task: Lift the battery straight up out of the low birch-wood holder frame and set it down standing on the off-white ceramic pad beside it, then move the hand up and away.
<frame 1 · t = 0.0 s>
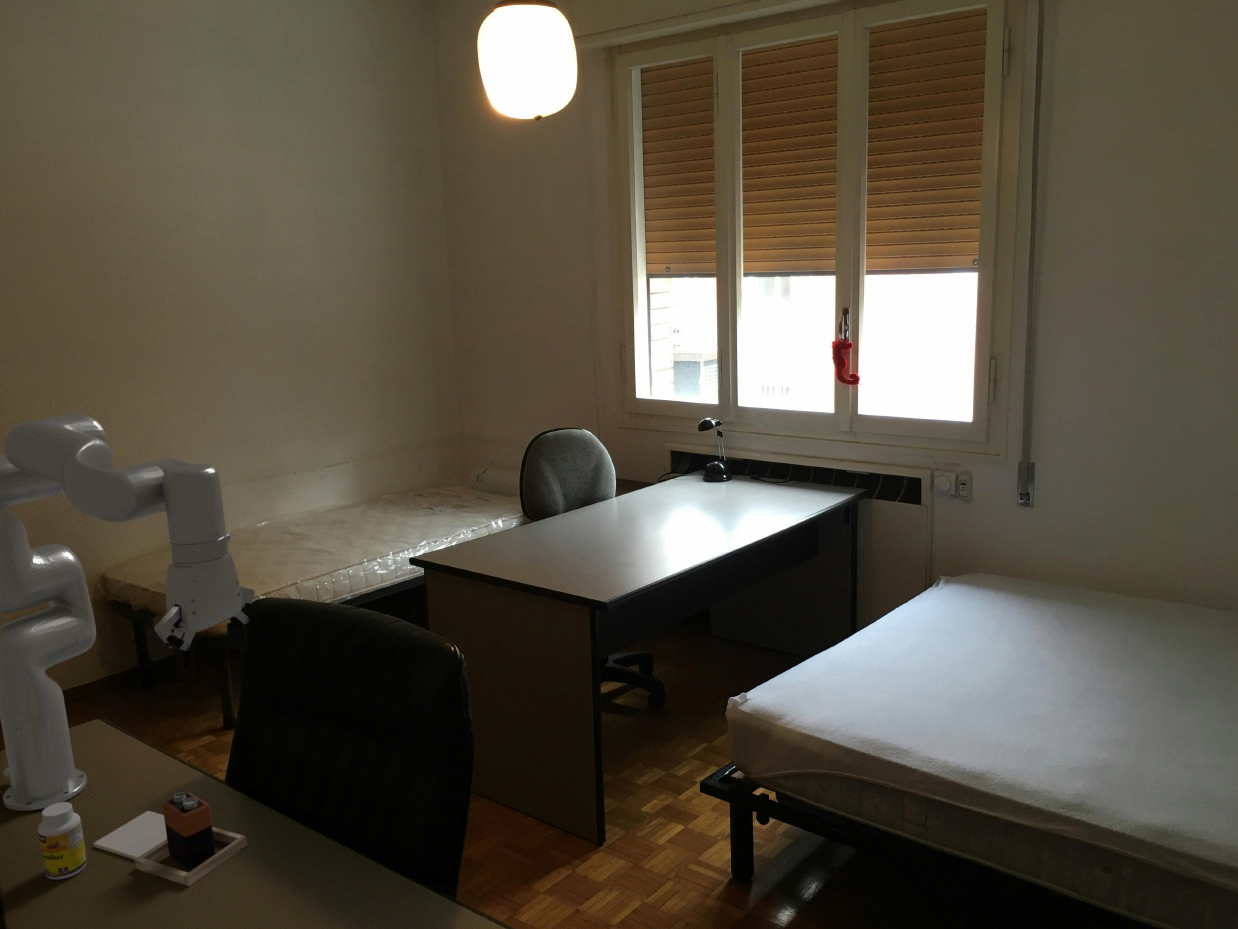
hand: (213, 660, 143), 31 cm above the table, tool pointing down, fingers open, 9 cm apart
battery: (192, 858, 148), resting in holder frame
holder frame: (192, 857, 148), on the table
supplement bottle: (66, 871, 146), on the table
ceramic pad: (143, 836, 154), on the table
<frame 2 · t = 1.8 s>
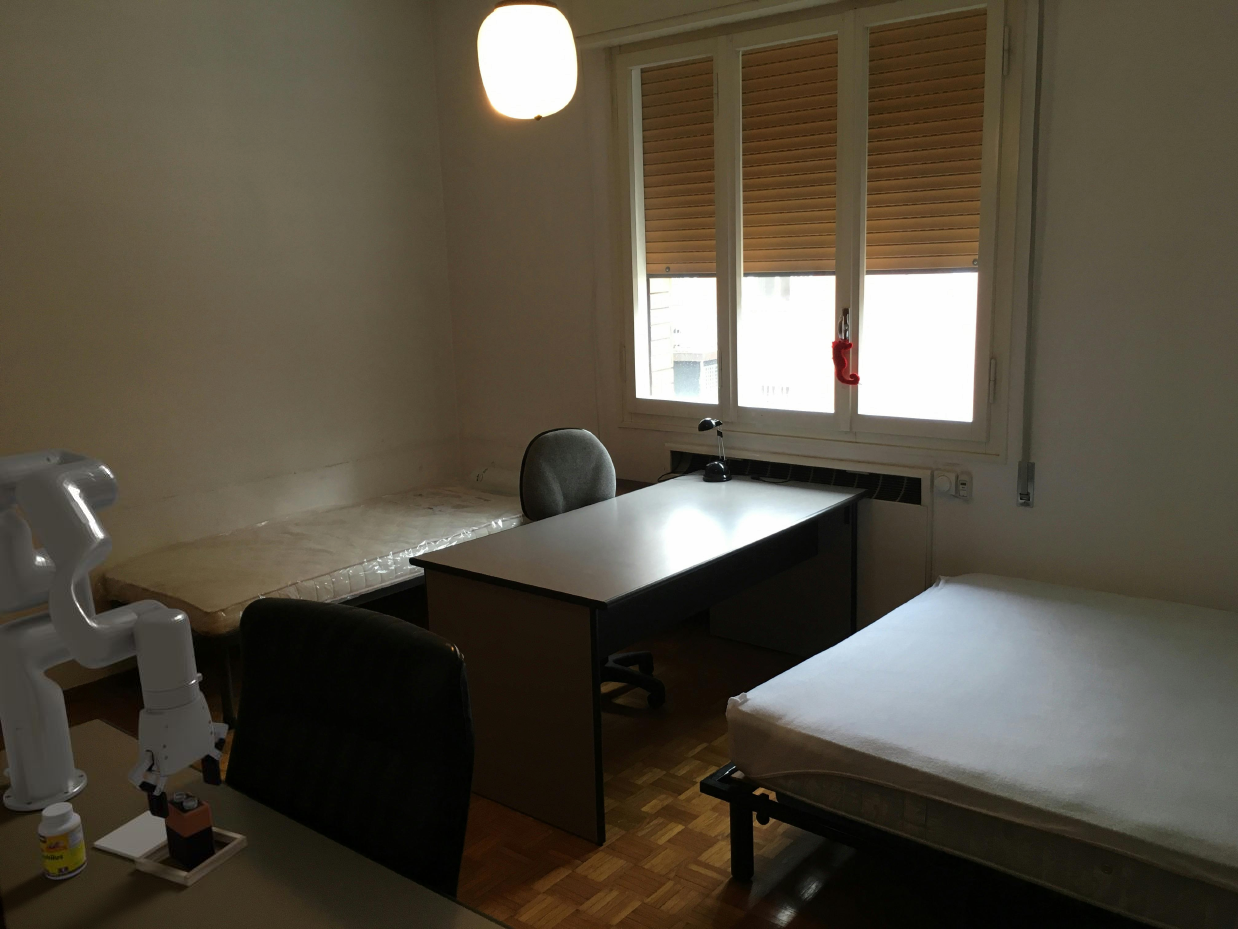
hand: (187, 799, 146), 10 cm above the table, tool pointing down, fingers open, 9 cm apart
nothing on the table moved.
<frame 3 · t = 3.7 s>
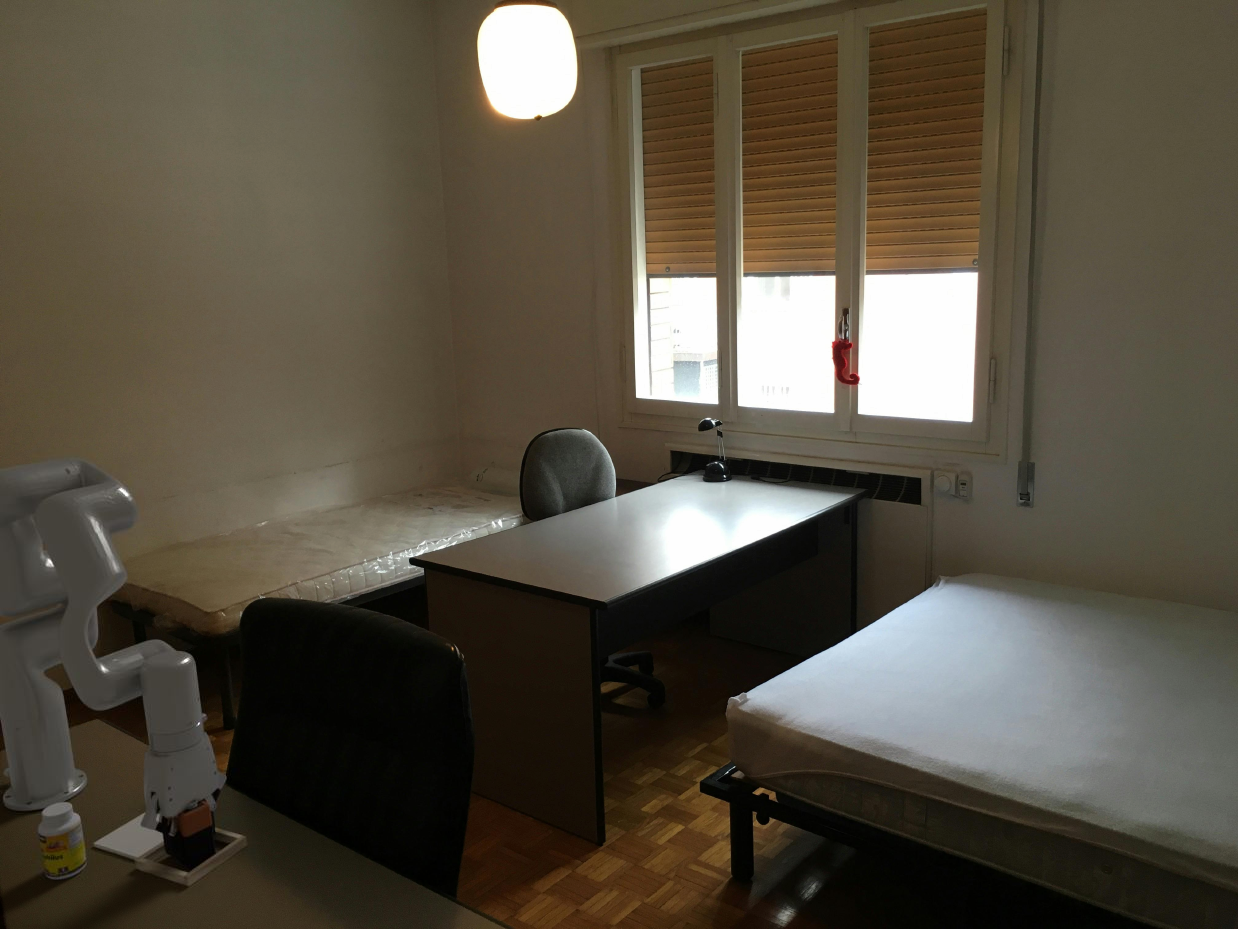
hand: (191, 843, 148), 2 cm above the table, tool pointing down, fingers closed on battery, 5 cm apart
battery: (193, 858, 148), resting in holder frame, touching gripper
everything else where it was.
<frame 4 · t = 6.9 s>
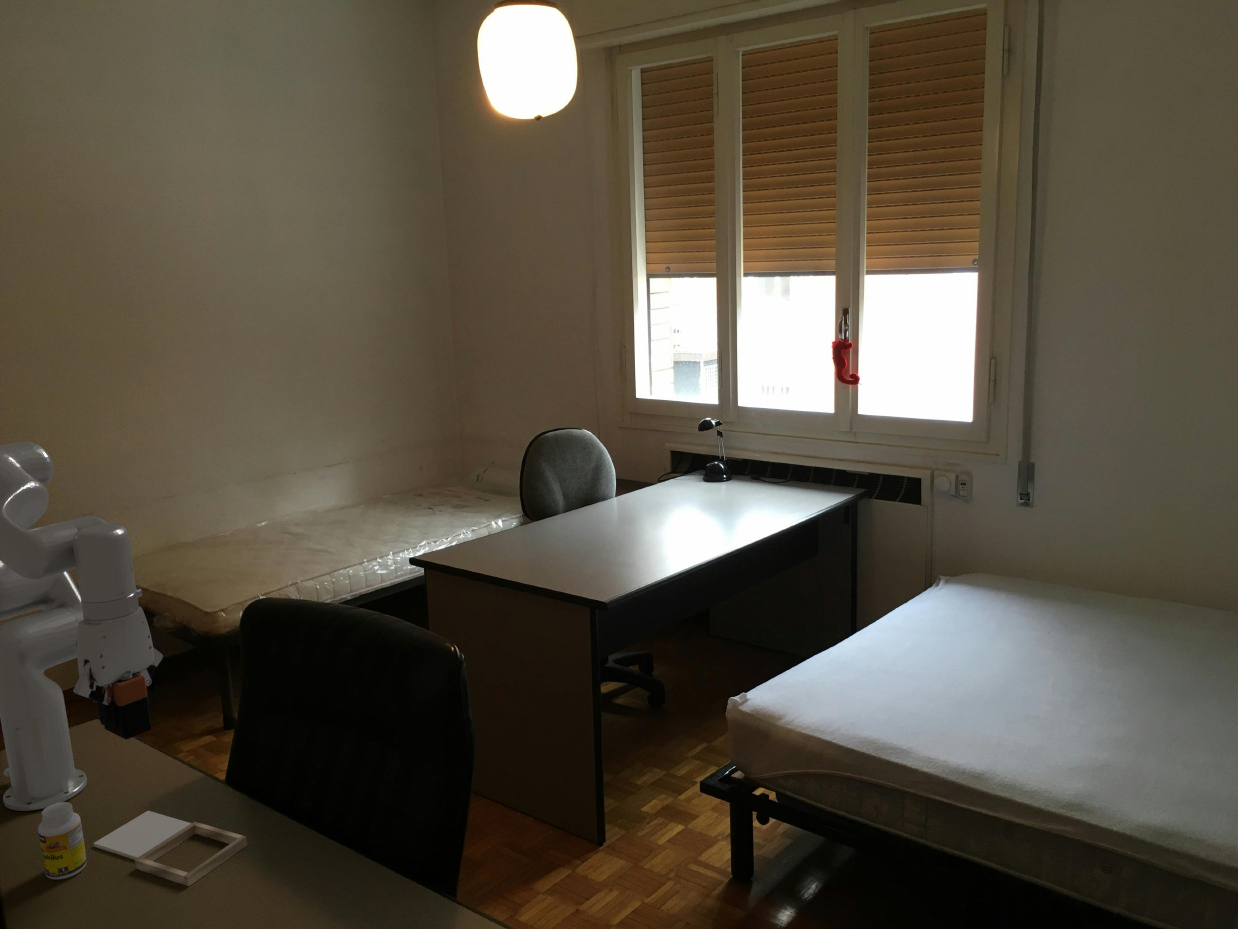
hand: (126, 716, 150), 21 cm above the table, tool pointing down, fingers closed on battery, 5 cm apart
battery: (128, 731, 150), point 18 cm above the table, touching gripper
everything else where it was.
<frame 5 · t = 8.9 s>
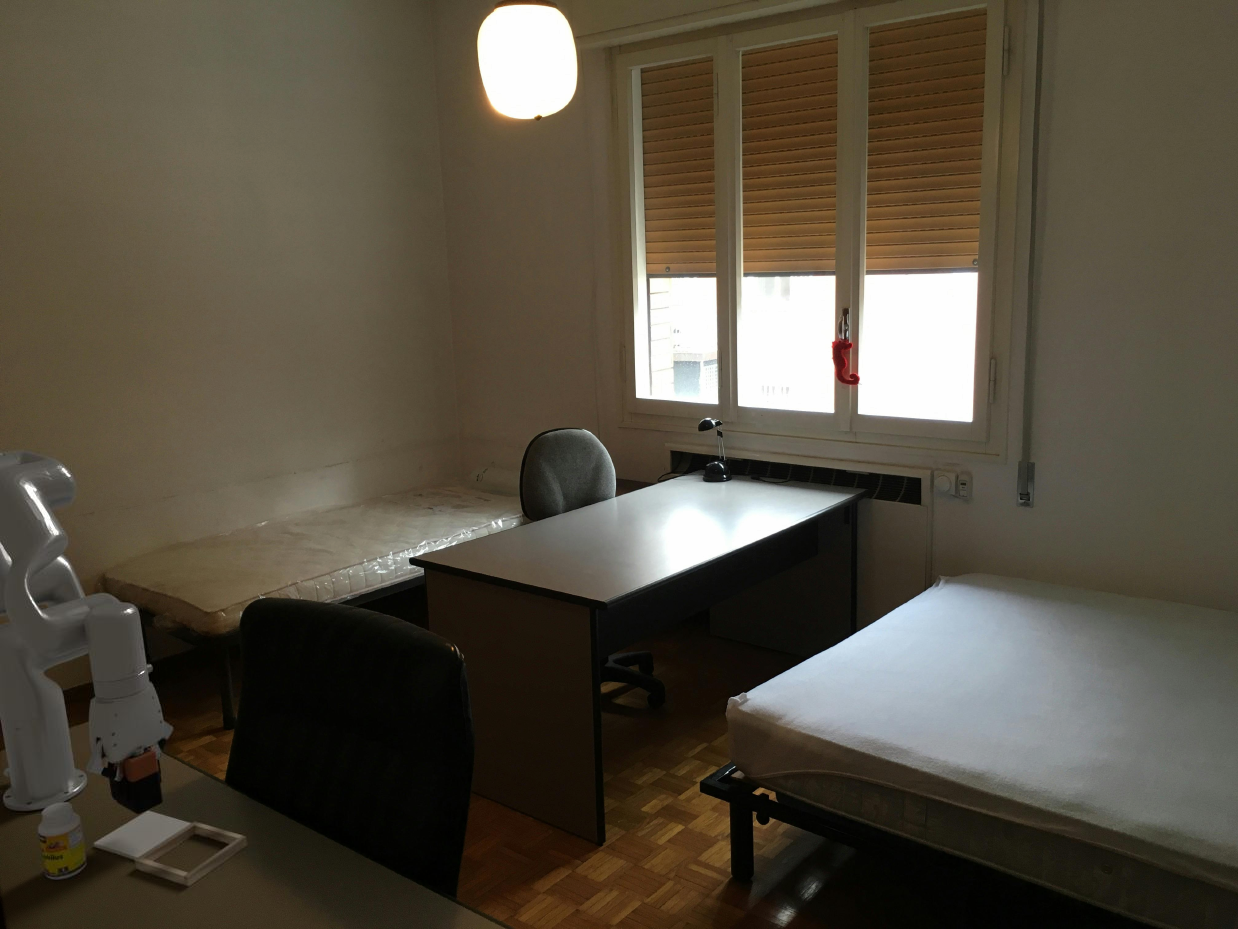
hand: (137, 790, 152), 8 cm above the table, tool pointing down, fingers closed on battery, 5 cm apart
battery: (140, 804, 153), point 6 cm above the table, touching gripper
everything else where it was.
when the fingers open (4 cm above the table, at t = 10.6 s): battery drops 1 cm, resting on ceramic pad.
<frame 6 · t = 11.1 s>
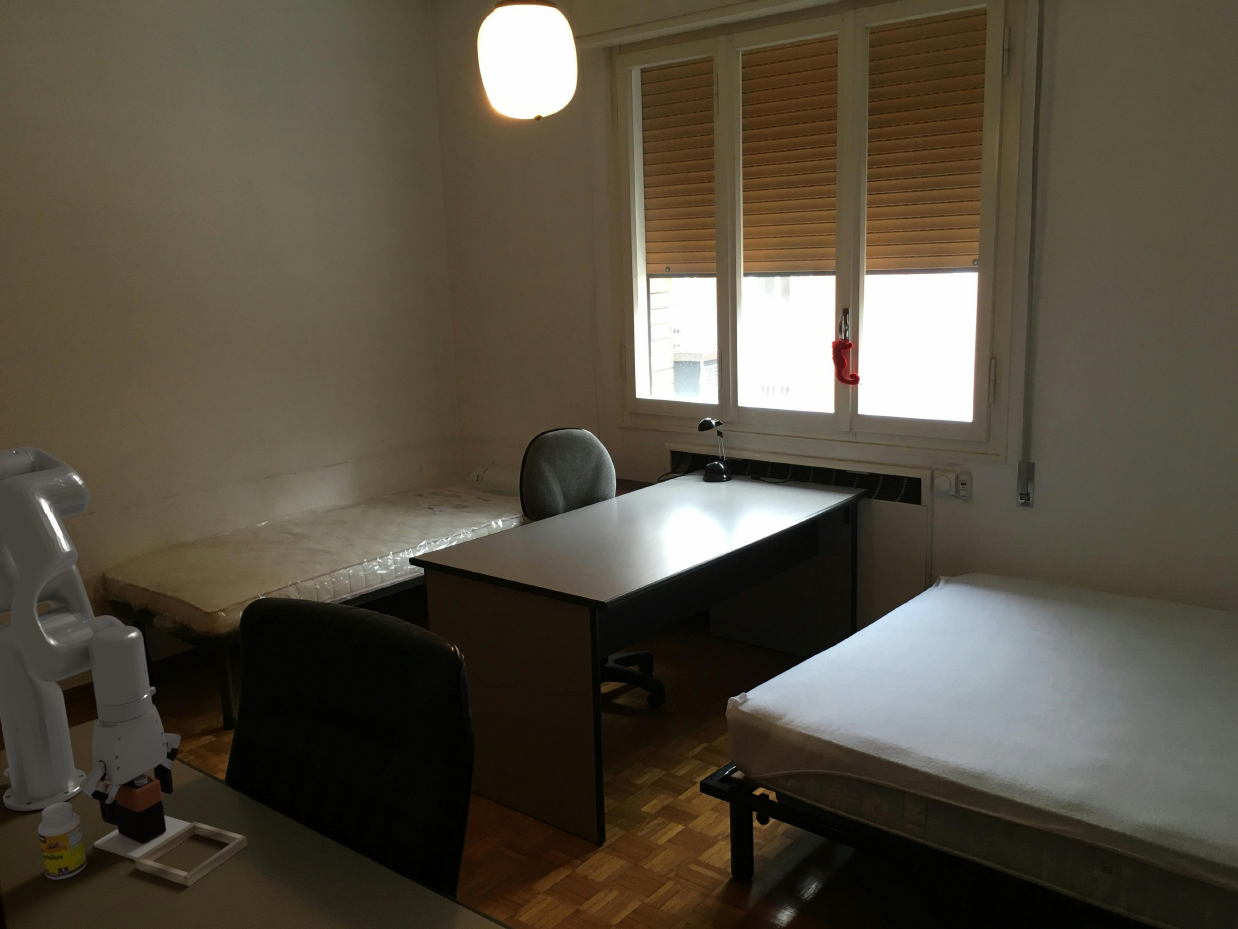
hand: (139, 806, 153), 5 cm above the table, tool pointing down, fingers open, 9 cm apart
battery: (142, 834, 154), resting on ceramic pad
everything else where it was.
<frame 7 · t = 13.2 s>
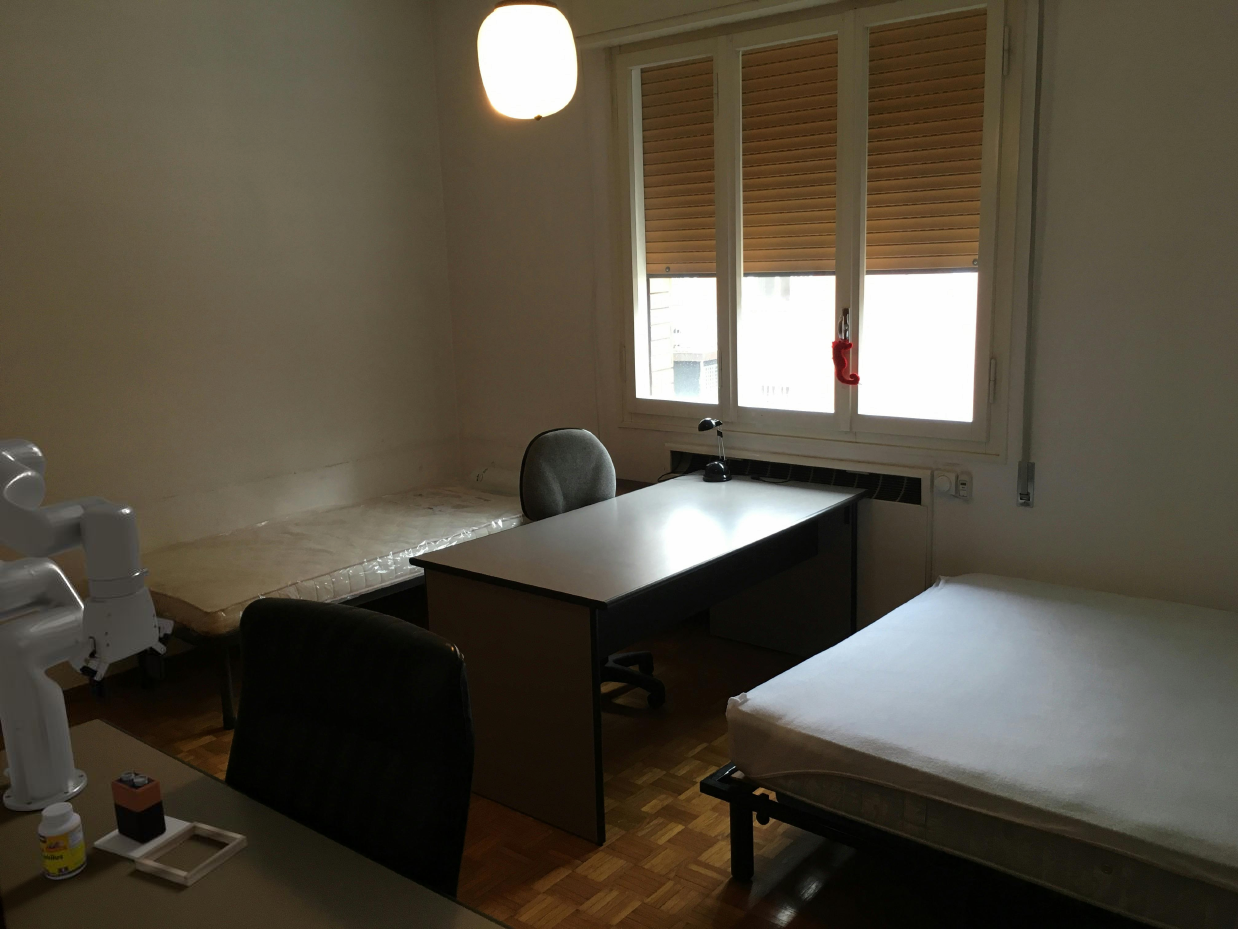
hand: (129, 688, 151), 24 cm above the table, tool pointing down, fingers open, 9 cm apart
nothing on the table moved.
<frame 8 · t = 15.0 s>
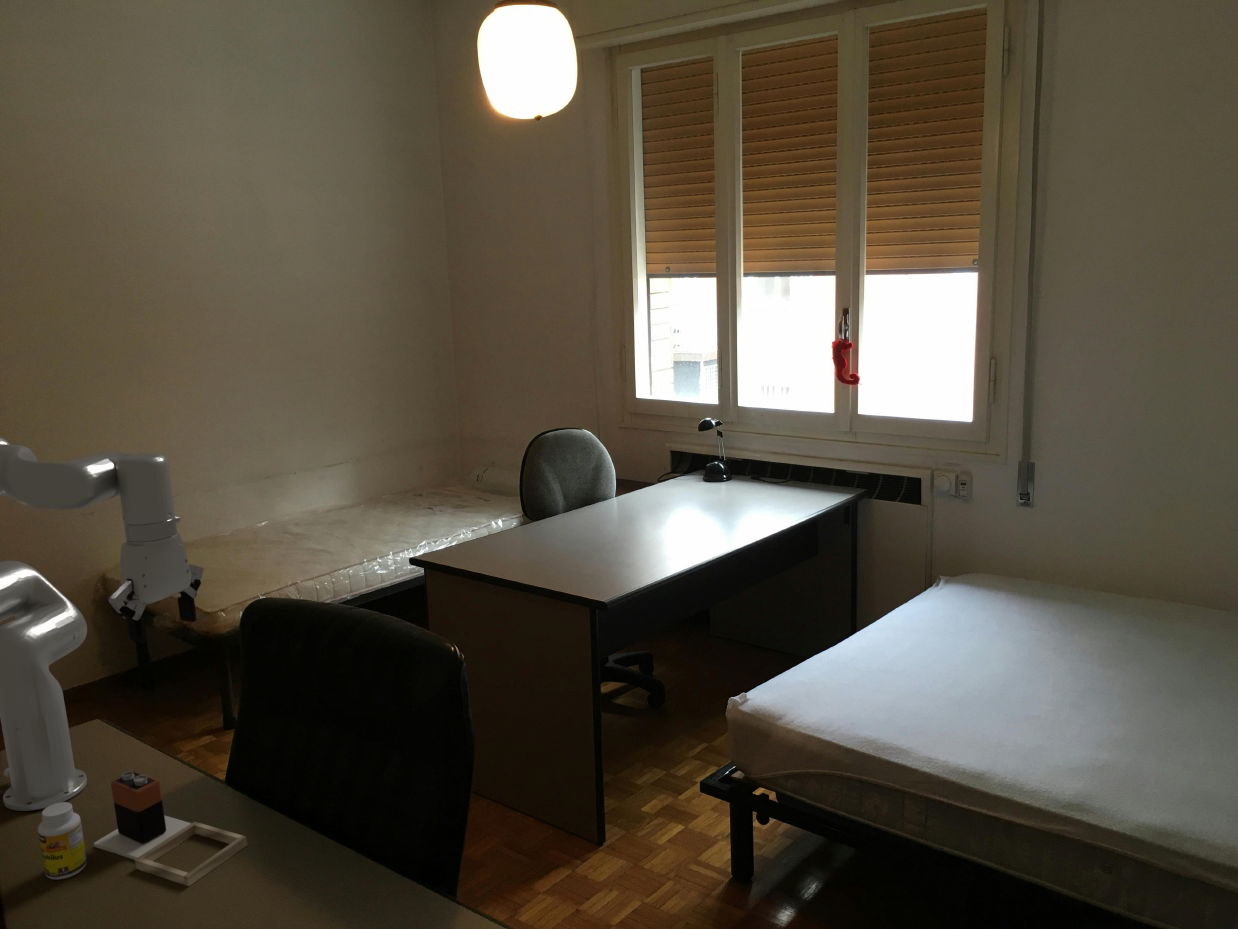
hand: (164, 630, 159), 30 cm above the table, tool pointing down, fingers open, 9 cm apart
nothing on the table moved.
at the end: battery inside the target area (0.1 cm from its centre), resting on ceramic pad; battery tilted 0°; battery touching ceramic pad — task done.
